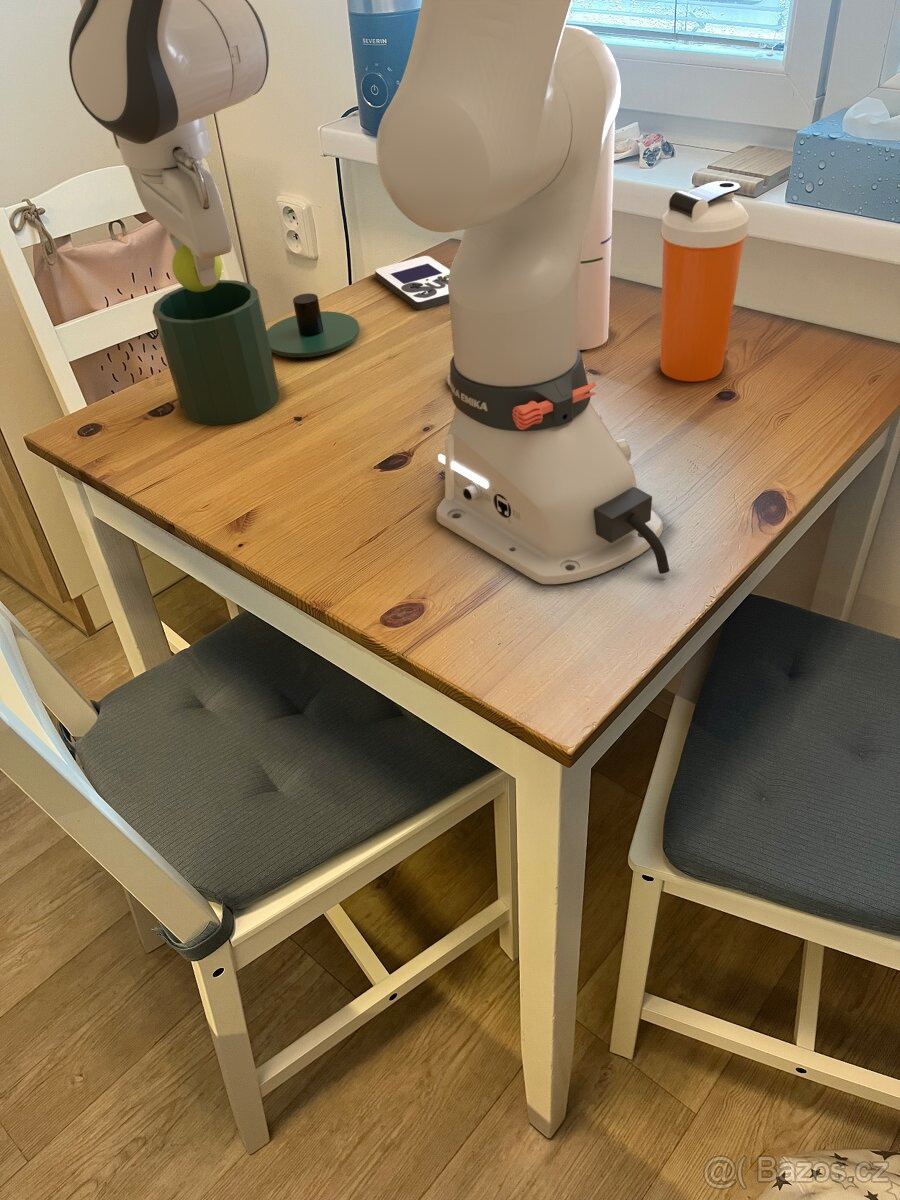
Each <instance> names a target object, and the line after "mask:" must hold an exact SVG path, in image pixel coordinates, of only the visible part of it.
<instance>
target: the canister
mask: <svg viewBox="0 0 900 1200" xmlns="http://www.w3.org/2000/svg"><path fill="white" fill-rule="evenodd" d="M152 315H153V318H154V323H155V325H156V329H157V332H158V336H159V339H160V342H161V346H162V348H163V352H164V356H165V359H166V362H167V365H168V366H167V367H168V369H169V373H170V375H171V380H172V382H173V386H174V389H175V392H176V396H177V399H178V402H179V405H180V409H181V410H182V412H183V414H184V416H185V417H186V418H187V419H188V420H190V421H192V422H193V423H197V424H201V425H206V426H225V425H234V424H238V423H242V422H246V421H249V420H252V419H255V418H256V417H258V416H261V415H263V414H265V413H266V412H268V411H269V410H270V409H272V408H273V406H274V405H275V404H276V403H277V402H278V401H279V397H280V390H279V382H278V378H277V372H276V367H275V364H274V363H275V362H274V359H273V354H272V352H271V349H270V345H269V340H268V336H267V328H266V327H267V326H266V322H265V317H264V314H263V309H262V304H261V299H260V295H259V291H258V289H257V288H256V287H254V286H253V284H251V283H248V282H244V281H242V280H241V281H240V280H236V279H234V280H233V279H220V280H219V281H218V283H217V284H216V286H214V287H213V288H212V289H210V290H208V291H205V292H193V291H190V290H188V289H186V288H185V287H183V286H181V287H179V288H176V289H174V290H172V291H170V292H168V293H165V294H163V296H161V297H160V298H159V299H158V300H157V301H156V302H155V303H154V304H153V309H152Z"/></svg>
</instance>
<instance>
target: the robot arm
mask: <svg viewBox="0 0 900 1200" xmlns="http://www.w3.org/2000/svg"><path fill="white" fill-rule="evenodd" d="M79 1H80V8H81V9H80V11H79V12H78V15H77V17H76V20H75V22H74V26H73V28H72V31H71V32H72V33H71V37H70V41H69V49H68V51H69V52H68V66H69V67H68V68H69V74H70V80H71V83H72V86H73V89H74V92H75V94H76V96H77V98H78V100H79V102H80V104H81V105H82V106H83V108H84V109H85V111H86V112H87V113H88V114H89V115H90V116H91V117H92V118H93V119H94V120H95V121H96V122H97V123H98V124H100V126H102V127H103V128H105V129H106V130H108V131H109V132H111V133H112V137H113V140H114V144H115V146H116V148H117V149H118V150H119V151H120V154H121V158H122V161H123V164H124V166H126V167H127V168H128V170H129V172H130V175H131V179H132V181H133V184H134V187H135V189H136V193H137V196H138V198H139V200H140V202H141V204H142V207H143V208H144V210H145V212H146V213H147V214H148V215H149V216H150V217H152V219H154V220H155V221H156V222H157V223H159V224H160V225H161V226H162V227H163V228H164V229H165V230H166V234H167V237H168V238H169V240H170V242H171V245H172V246H173V249H174V251H175V252H176V251H177V250H178V249H179V248H180V247H181V246H182V245H185V246H186V247H187V248H189V249H190V250H191V253H192V255H193V256H194V261H195V266H196V267H194V269H195V273H196V276H197V280H198V281H199V283H200V284H201V285H203V286H205V287H206V286H210V285H214V284H216V282H217V276H216V272H215V268H214V267H215V257H216V256H223V255H226V254H229V253H231V252H232V249H233V238H232V234H231V230H230V226H229V221H228V218H227V215H226V211H225V208H224V205H223V201H222V197H221V194H220V191H219V188H218V184H217V183H216V180H215V178H214V176H213V175H212V174H211V173H210V171H208V170H207V169H205V168H204V165H203V162H202V160H203V159H205V158H206V157H208V156H210V154H211V152H212V145H211V141H210V137H209V136H210V135H209V133H208V129H207V123H206V117H209V116H211V115H214V114H217V113H218V112H221V111H222V110H225V109H227V108H231V107H233V106H236V105H238V104H240V103H242V102H245V101H247V100H248V99H250V98H251V97H252V96H255V95H256V94H258V93H259V92H260V91H261V90H262V89H263V86H264V84H265V82H266V79H267V76H268V73H269V72H268V71H269V65H270V52H269V51H270V50H269V44H268V38H267V34H266V31H265V28H264V25H263V22H262V21H261V19H260V16H259V14H258V13H257V11H256V9H255V7H254V6H253V5H252V4H251V3H250V1H249V0H79ZM572 3H573V0H421V4H420V8H419V13H418V16H417V17H418V18H417V22H416V26H415V31H414V35H413V40H412V44H411V48H410V53H409V56H408V59H407V63H406V66H405V69H404V72H403V76H402V78H401V81H400V83H399V85H398V88H397V90H396V92H395V94H394V95H393V97H392V99H391V101H390V103H389V105H388V106H387V108H386V110H385V112H384V113H383V116H382V118H381V120H380V123H379V126H378V128H377V129H378V130H377V133H376V134H377V135H376V144H375V154H376V162H377V163H376V164H377V167H378V168H377V169H378V172H379V175H380V176H379V177H380V178H381V181H382V184H383V186H384V188H385V191H386V192H387V194H388V196H389V198H390V200H391V201H392V203H393V204H394V205H395V206H396V208H397V209H398V210H399V211H400V212H401V213H402V214H403V215H404V217H406V219H408V220H410V221H411V222H412V223H414V224H416V225H417V226H419V227H420V228H423V229H425V230H428V231H430V232H435V233H453V232H457V231H462V230H464V231H463V234H462V238H461V241H460V243H459V246H458V249H457V251H456V253H455V255H454V257H453V260H452V263H451V265H450V268H449V270H450V273H449V279H448V291H449V302H448V304H449V313H450V314H449V315H450V326H451V327H450V328H451V340H452V350H453V351H452V352H453V354H452V357H451V359H450V363H449V369H450V370H449V374H450V376H449V377H450V386H449V387H450V390H451V400H452V402H453V404H454V406H455V410H454V413H453V417H452V420H451V424H450V426H449V429H448V431H447V434H446V437H445V440H444V455H443V454H442V453H440V454H438V455H437V456H438V462H440V463H442V464H444V494H445V495H444V498H443V499H442V500H441V501H440V503H439V504H438V506H437V507H436V521H437V522H438V524H440V525H442V526H444V527H445V528H446V529H448V530H450V531H452V532H453V533H455V534H456V535H458V536H460V537H462V538H463V539H465V540H466V541H468V542H469V543H472V544H473V545H474V546H476V547H478V548H479V549H481V550H483V551H485V552H487V553H488V554H490V555H491V556H493V557H495V558H496V559H498V560H499V561H501V562H503V563H505V564H506V565H508V566H510V567H511V568H513V569H515V570H516V571H518V572H519V573H521V574H523V575H524V576H526V577H528V578H530V579H531V580H533V581H535V582H536V583H539V584H542V585H560V584H567V583H569V584H570V583H574V582H578V581H582V580H586V579H590V578H593V577H596V576H598V575H601V574H604V573H606V572H608V571H611V570H613V569H616V568H618V567H619V566H622V565H624V564H626V563H628V562H630V561H632V560H634V559H635V558H638V557H639V556H640V555H642V554H643V553H644V552H646V551H647V550H649V549H650V548H651V550H652V552H653V554H654V557H655V560H656V566H657V570H658V574H660V575H664V574H667V573H669V572H670V571H671V570H670V565H669V561H668V556H667V552H666V549H665V547H664V545H663V543H662V541H661V540H660V539H659V538H660V537H661V536H662V533H663V531H664V524H663V523H664V522H663V520H662V519H661V517H660V516H659V515H658V514H657V513H656V512H655V511H654V509H652V505H653V496H652V495H650V494H648V493H647V492H646V491H643V490H642V489H640V488H638V486H637V480H636V474H635V471H634V469H633V467H632V465H631V463H630V462H629V461H630V460H631V457H632V452H631V447H630V444H629V442H628V441H627V440H626V439H625V438H617V439H615V438H614V437H613V436H612V433H611V432H610V431H609V429H608V428H607V426H606V424H605V423H604V422H603V419H602V415H601V413H600V412H599V411H597V410H596V409H595V408H594V406H593V404H592V402H591V397H593V396H595V395H596V394H597V392H596V391H591V390H592V389H593V388H595V387H596V386H597V383H595V382H592V383H589V382H588V378H587V368H586V366H585V364H584V360H583V356H582V353H581V350H578V348H577V343H578V291H579V272H580V262H581V256H582V249H583V244H584V239H585V233H586V228H587V224H588V219H589V214H590V209H591V204H592V199H593V194H594V189H595V184H596V179H597V174H598V169H599V164H600V159H601V155H602V151H603V148H604V144H605V141H606V138H607V136H608V133H609V131H610V128H611V126H612V124H613V121H614V119H615V120H616V117H617V114H618V111H619V107H620V102H621V93H622V92H621V88H622V86H621V78H620V77H621V76H620V71H619V68H618V65H617V62H616V60H615V58H614V56H613V54H612V52H611V50H610V49H609V47H608V46H607V45H606V43H605V42H604V41H603V40H602V39H601V38H600V37H599V36H597V35H596V34H595V33H594V32H592V31H590V30H588V29H586V28H584V27H581V26H579V25H571V24H566V23H567V19H568V17H569V12H570V10H571V7H572Z"/></svg>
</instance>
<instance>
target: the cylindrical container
mask: <svg viewBox="0 0 900 1200" xmlns="http://www.w3.org/2000/svg"><path fill="white" fill-rule="evenodd" d="M615 132H616V118H615V119H614V121H613V124H612V126H611V128H610V131H609V133H608V136H607V138H606V141H605V144H604V148H603V151H602V155H601V159H600V164H599V169H598V174H597V179H596V184H595V189H594V194H593V199H592V204H591V209H590V214H589V219H588V224H587V228H586V233H585V239H584V244H583V249H582V256H581V262H580V272H579V291H578V343H577V348H578V350H579V351H584V350H591V349H595V348H598V347H601V346H603V345H604V344H605V343H606V342H607V341H608V339H609V323H610V293H611V291H610V288H611V263H612V262H611V260H612V259H611V258H612V234H613V232H612V230H613V198H614V197H613V196H614V194H613V193H614V166H615V165H614V164H615V163H614V162H615V137H616V135H615V134H616V133H615Z"/></svg>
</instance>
